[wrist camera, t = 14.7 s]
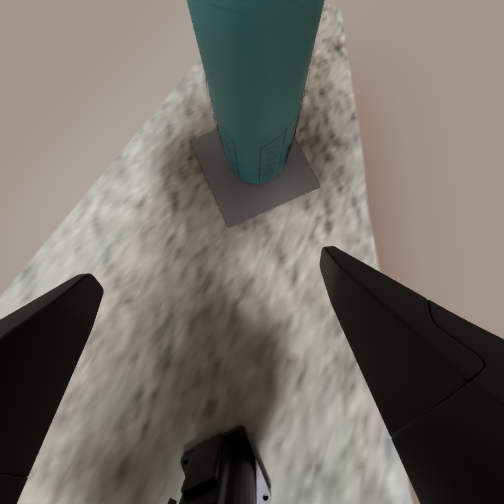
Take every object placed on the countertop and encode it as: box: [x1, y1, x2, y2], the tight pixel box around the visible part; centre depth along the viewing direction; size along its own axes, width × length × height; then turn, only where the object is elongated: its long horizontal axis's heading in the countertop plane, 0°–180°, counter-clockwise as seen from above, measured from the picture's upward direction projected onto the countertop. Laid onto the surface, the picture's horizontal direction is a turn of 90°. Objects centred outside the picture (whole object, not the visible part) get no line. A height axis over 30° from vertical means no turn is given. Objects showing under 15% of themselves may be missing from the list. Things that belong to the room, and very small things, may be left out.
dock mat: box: [190, 130, 320, 228], centre depth 23 cm, size 11×11×1 cm
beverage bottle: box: [187, 0, 324, 184], centre depth 13 cm, size 6×7×20 cm
